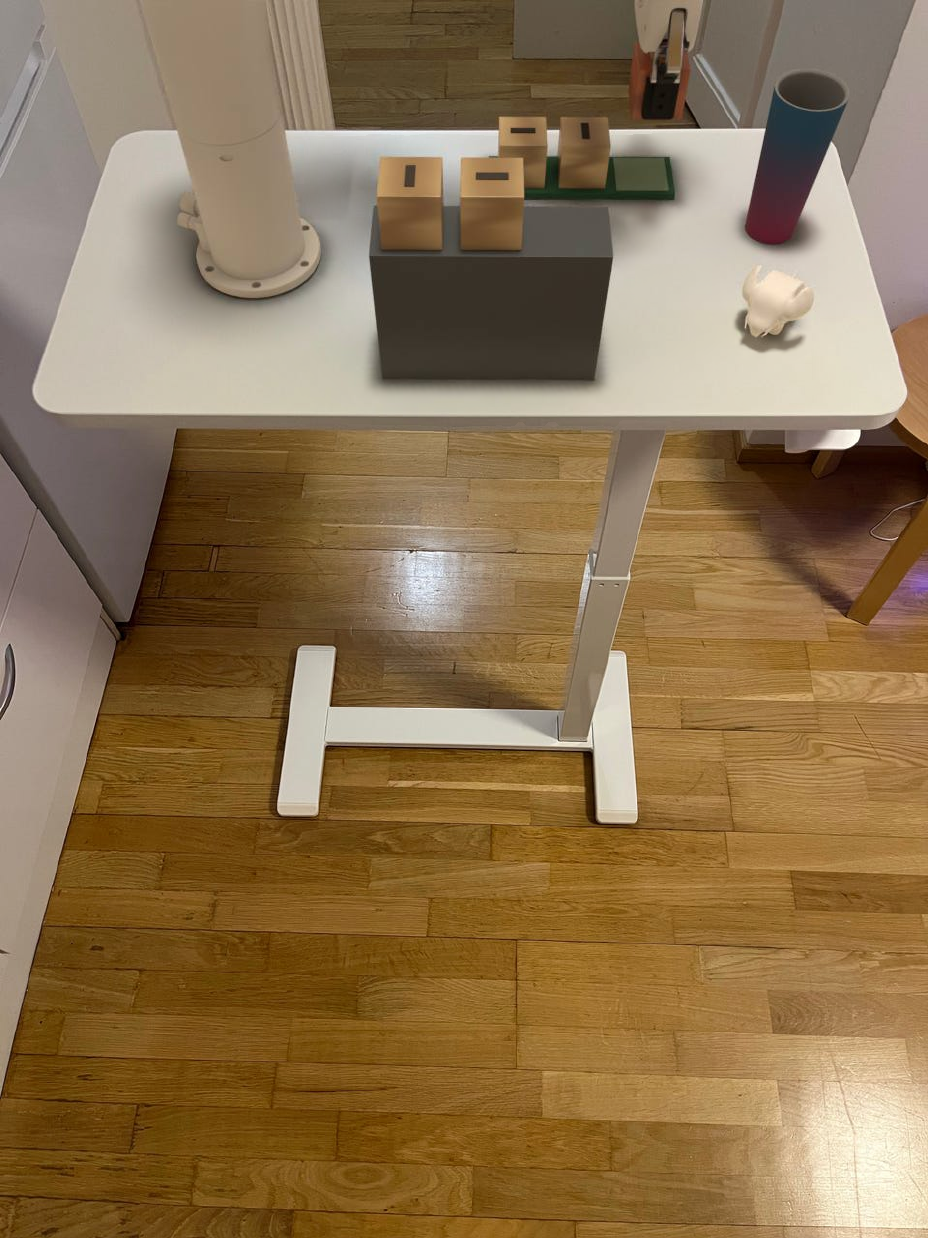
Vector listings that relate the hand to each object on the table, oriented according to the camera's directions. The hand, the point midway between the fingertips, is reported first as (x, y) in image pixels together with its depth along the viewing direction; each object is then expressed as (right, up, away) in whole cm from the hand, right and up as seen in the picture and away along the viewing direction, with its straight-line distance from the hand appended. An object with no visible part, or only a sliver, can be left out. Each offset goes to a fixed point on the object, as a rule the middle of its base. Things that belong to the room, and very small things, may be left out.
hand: (654, 98), depth 98 cm
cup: (+13, -12, +4) cm, 18 cm away
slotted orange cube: (0, 0, +1) cm, 1 cm away
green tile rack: (-7, -5, +8) cm, 11 cm away
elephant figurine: (+10, -24, -3) cm, 26 cm away
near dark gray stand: (-17, -27, -5) cm, 33 cm away
